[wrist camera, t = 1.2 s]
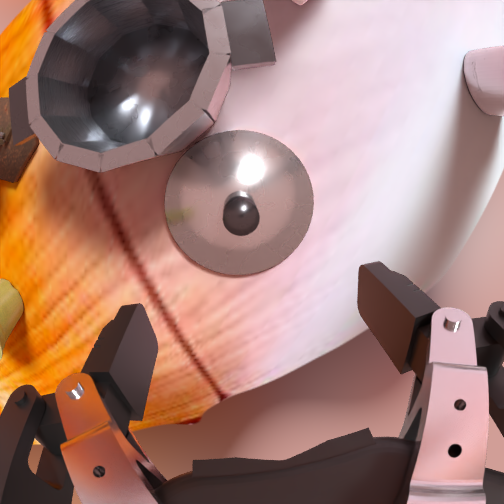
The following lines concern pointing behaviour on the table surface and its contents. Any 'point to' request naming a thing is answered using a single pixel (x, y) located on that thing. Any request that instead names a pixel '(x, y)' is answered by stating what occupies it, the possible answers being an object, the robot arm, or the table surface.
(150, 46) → the pot
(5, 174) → the robot figurine
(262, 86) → the table surface
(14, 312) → the plant pot
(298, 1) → the medicine bottle
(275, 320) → the table surface
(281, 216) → the lid
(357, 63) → the table surface
